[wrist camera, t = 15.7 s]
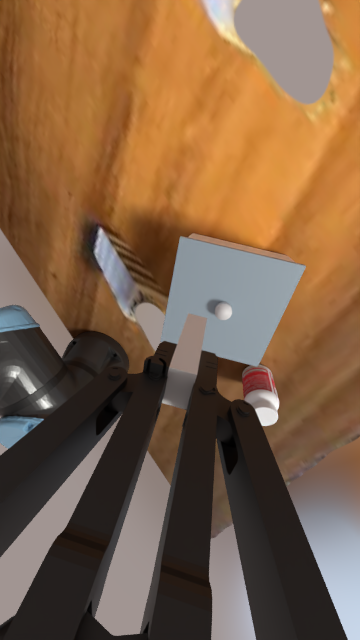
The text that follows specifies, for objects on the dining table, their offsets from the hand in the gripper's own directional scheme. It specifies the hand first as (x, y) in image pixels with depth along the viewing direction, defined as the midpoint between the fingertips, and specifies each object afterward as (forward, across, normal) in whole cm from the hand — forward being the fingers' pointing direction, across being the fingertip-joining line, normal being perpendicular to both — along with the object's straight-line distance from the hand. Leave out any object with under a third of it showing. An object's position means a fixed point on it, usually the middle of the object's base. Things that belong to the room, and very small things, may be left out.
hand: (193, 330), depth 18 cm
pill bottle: (+25, +15, -21) cm, 36 cm away
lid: (+16, +3, -4) cm, 17 cm away
